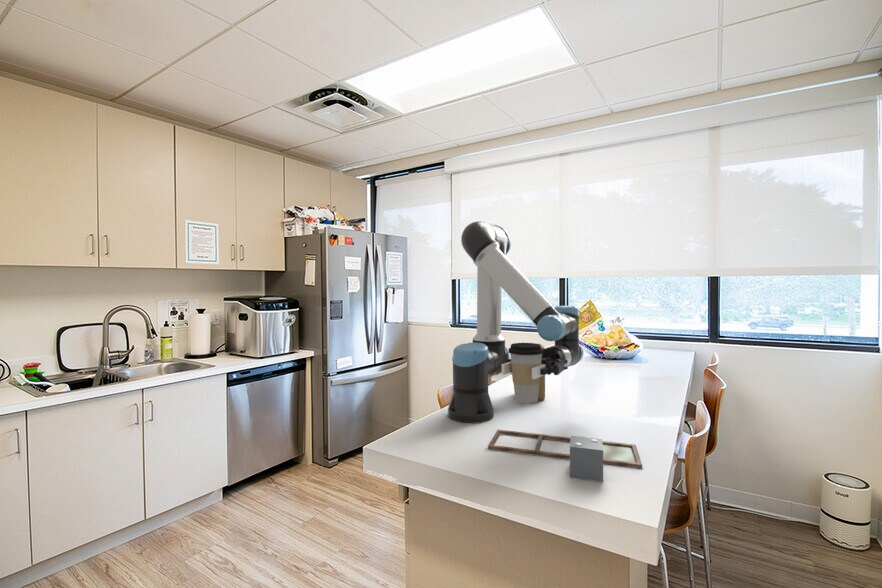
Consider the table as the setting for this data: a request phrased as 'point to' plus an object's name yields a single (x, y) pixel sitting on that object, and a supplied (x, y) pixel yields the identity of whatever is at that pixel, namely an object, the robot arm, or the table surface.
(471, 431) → the table surface
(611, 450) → the wooden frame
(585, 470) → the die
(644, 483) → the table surface
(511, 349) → the coffee cup
